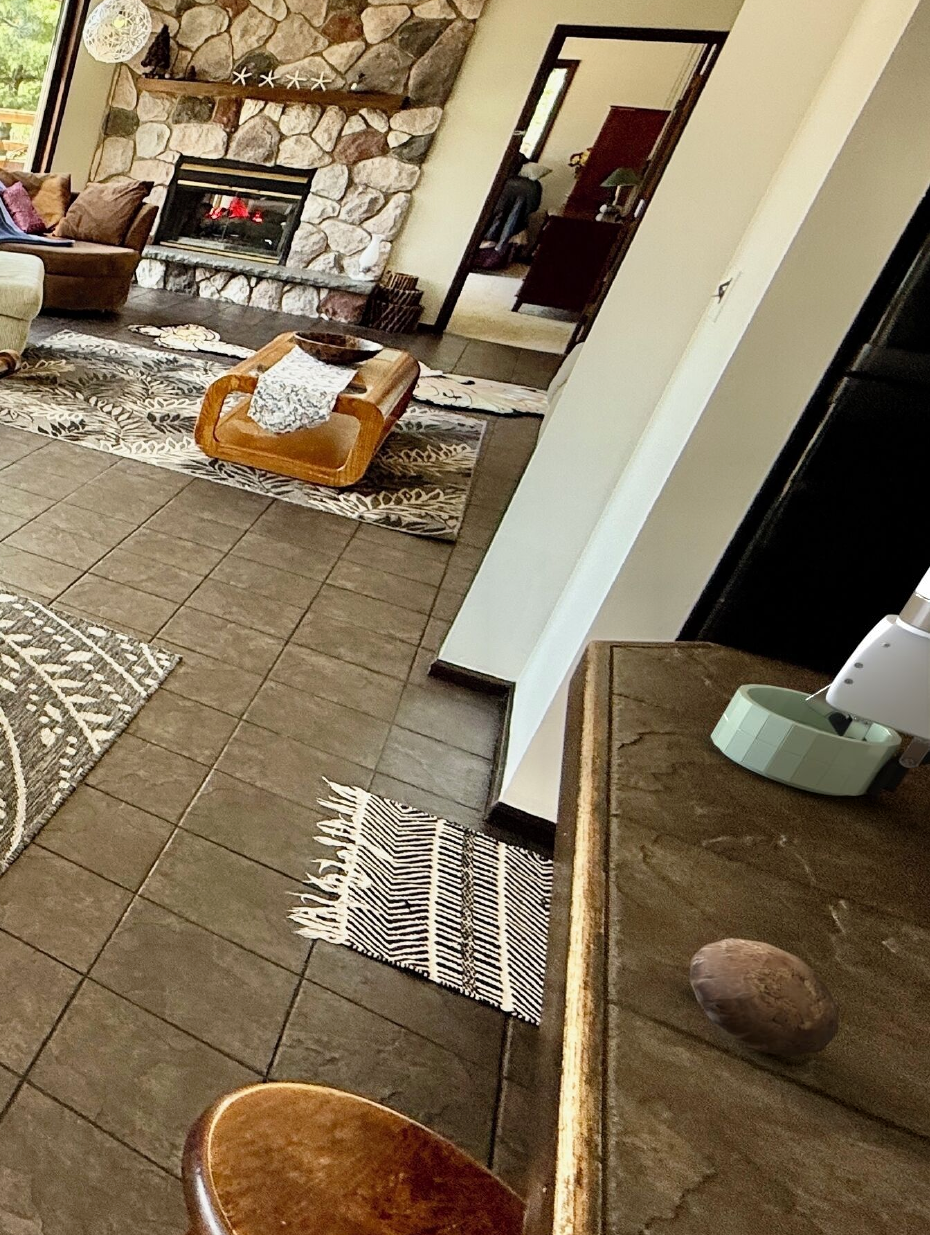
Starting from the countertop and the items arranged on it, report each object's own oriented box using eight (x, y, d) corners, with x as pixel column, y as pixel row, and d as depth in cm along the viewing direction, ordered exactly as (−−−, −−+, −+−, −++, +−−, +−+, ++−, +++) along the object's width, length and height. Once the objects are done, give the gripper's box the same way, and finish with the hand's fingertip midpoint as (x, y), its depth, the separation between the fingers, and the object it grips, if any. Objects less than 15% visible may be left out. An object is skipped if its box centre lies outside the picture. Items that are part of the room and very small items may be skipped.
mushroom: (669, 920, 78) (752, 905, 73) (783, 999, 76) (878, 990, 70) (636, 1003, 76) (720, 994, 70) (754, 1088, 73) (850, 1085, 68)
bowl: (781, 739, 113) (813, 688, 110) (899, 804, 102) (938, 749, 100) (678, 731, 112) (707, 680, 110) (786, 796, 102) (821, 740, 99)
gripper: (1106, 653, 92) (983, 820, 99) (849, 583, 104) (755, 736, 111) (1100, 672, 88) (972, 844, 95) (833, 597, 100) (737, 755, 107)
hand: (856, 785), depth 103 cm, fingers closed on bowl
